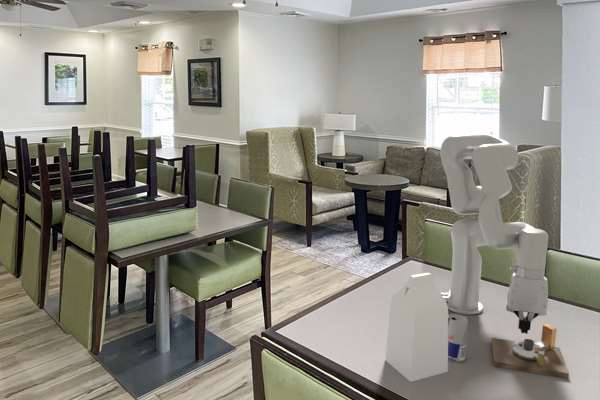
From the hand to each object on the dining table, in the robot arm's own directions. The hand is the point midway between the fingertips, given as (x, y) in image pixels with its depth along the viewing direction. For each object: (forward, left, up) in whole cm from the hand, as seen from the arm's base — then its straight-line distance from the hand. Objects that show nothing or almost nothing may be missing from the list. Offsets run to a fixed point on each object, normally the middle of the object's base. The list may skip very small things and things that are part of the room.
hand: (523, 331), depth 141 cm
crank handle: (+2, -6, -3) cm, 7 cm away
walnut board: (0, -8, -4) cm, 9 cm away
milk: (-29, -22, -5) cm, 36 cm away
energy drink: (-19, -14, -5) cm, 23 cm away
